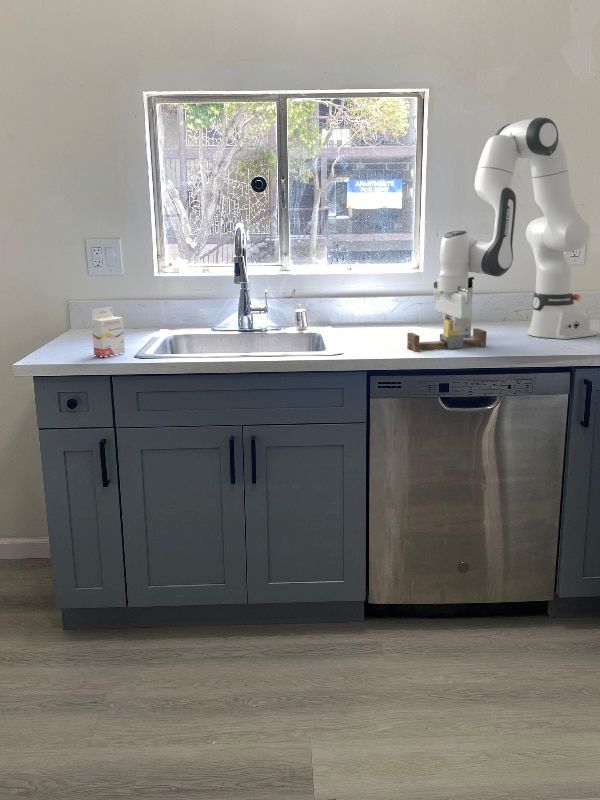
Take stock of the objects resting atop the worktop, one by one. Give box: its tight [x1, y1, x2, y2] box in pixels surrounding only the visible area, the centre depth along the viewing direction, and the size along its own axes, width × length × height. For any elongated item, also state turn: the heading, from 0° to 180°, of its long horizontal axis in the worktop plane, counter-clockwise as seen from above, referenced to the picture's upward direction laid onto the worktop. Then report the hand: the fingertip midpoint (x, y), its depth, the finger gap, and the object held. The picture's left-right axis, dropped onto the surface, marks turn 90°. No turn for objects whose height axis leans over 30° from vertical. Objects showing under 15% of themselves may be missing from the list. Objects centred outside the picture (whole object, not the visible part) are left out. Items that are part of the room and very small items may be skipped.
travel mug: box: [451, 276, 475, 339], centre depth 246 cm, size 6×7×20 cm
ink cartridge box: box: [90, 306, 126, 357], centre depth 228 cm, size 9×5×15 cm, turn 141°
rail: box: [406, 327, 488, 353], centre depth 230 cm, size 24×6×5 cm, turn 104°
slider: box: [439, 318, 464, 350], centre depth 230 cm, size 5×6×9 cm
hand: (451, 329), depth 229 cm, fingers closed on slider, 3 cm apart
